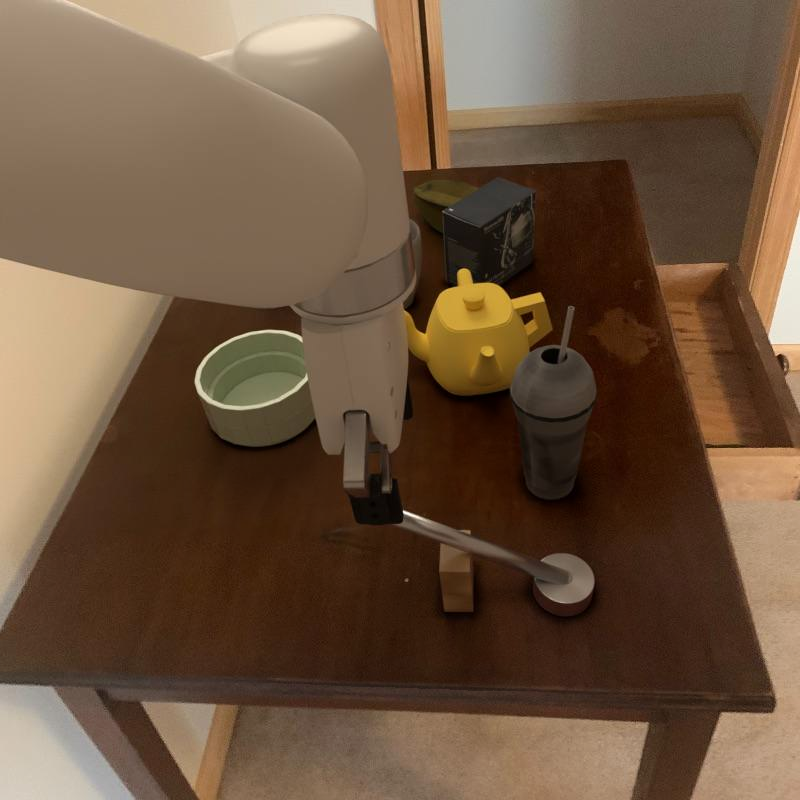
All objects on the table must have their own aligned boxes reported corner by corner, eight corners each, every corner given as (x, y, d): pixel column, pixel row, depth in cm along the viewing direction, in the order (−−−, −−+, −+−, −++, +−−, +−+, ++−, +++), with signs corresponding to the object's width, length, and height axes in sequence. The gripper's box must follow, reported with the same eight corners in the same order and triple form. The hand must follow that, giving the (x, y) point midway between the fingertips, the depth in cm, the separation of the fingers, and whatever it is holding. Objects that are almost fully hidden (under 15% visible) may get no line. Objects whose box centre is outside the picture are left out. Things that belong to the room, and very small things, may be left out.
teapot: (392, 378, 85) (380, 306, 78) (464, 316, 92) (459, 245, 85) (492, 427, 77) (489, 353, 71) (563, 356, 84) (566, 282, 78)
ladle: (588, 567, 64) (604, 478, 56) (595, 617, 61) (612, 530, 53) (370, 561, 66) (356, 474, 58) (364, 610, 63) (348, 524, 55)
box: (483, 301, 93) (480, 226, 86) (444, 283, 97) (437, 210, 90) (536, 262, 98) (537, 188, 91) (497, 246, 102) (495, 174, 95)
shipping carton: (473, 570, 65) (470, 529, 61) (473, 612, 62) (470, 571, 58) (445, 570, 65) (441, 529, 62) (444, 611, 63) (438, 571, 59)
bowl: (277, 466, 77) (263, 425, 73) (186, 428, 83) (169, 387, 78) (348, 389, 84) (339, 348, 80) (261, 358, 90) (248, 318, 86)
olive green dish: (435, 256, 102) (431, 212, 98) (413, 214, 111) (408, 173, 106) (515, 237, 103) (515, 193, 99) (487, 198, 112) (486, 156, 108)
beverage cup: (503, 459, 74) (499, 290, 61) (576, 447, 74) (588, 276, 61) (520, 517, 69) (519, 346, 55) (599, 504, 69) (618, 331, 55)
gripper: (307, 191, 49) (350, 385, 61) (248, 367, 37) (316, 569, 48) (422, 183, 48) (443, 382, 60) (401, 361, 36) (433, 569, 47)
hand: (386, 465), depth 54 cm, fingers open, 9 cm apart
